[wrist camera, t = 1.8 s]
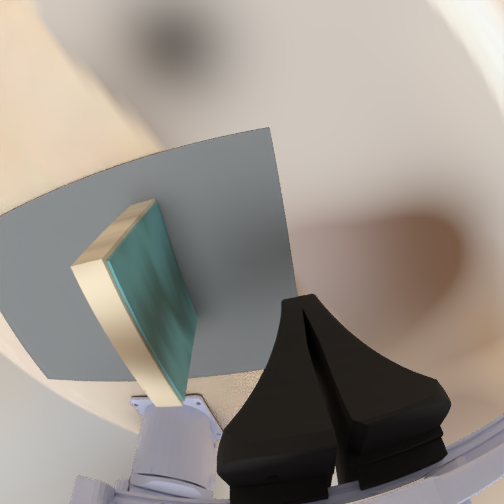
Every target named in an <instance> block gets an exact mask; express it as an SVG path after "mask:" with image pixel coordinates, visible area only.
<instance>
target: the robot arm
mask: <svg viewBox="0 0 504 504" xmlns="http://www.w3.org/2000/svg"><path fill="white" fill-rule="evenodd" d="M130 403H131V404H132V405H133V406H134V407H135V408H136V410H137V411H138V412H139V413H140V414H141V415H142V417H143V419H142V424H141V428H140V433H139V437H138V442H137V447H136V452H135V457H134V462H133V467H132V473H131V476H130V478H129V480H128V479H126V478H121V480H117V481H116V483H115V487H114V488H113V487H112V486H110V485H109V484H107V483H105V482H102V481H99V480H96V479H91V478H87V477H84V476H80V475H79V476H77V477H76V481H75V485H74V489H73V493H72V497H71V501H70V504H346V503H350V502H354V501H358V500H361V499H365V498H368V497H371V496H375V495H378V494H381V493H384V492H387V491H390V490H393V489H395V488H398V487H401V486H403V485H406V484H409V483H411V482H414V481H416V480H418V479H421V478H423V477H425V476H426V477H425V478H424V480H422V481H419V482H417V483H414V484H412V485H409V486H407V487H404V488H401V489H399V490H396V491H393V492H390V493H388V494H385V495H381V496H379V497H375V498H372V499H369V500H366V501H362V502H358V503H355V504H471V501H470V498H471V497H473V496H474V495H476V494H478V493H479V492H481V491H482V490H484V489H486V488H487V487H489V486H490V485H491V484H493V483H495V482H496V481H497V480H499V479H500V478H501V477H503V476H504V414H502V415H501V416H499V417H498V418H496V419H495V420H493V421H491V422H490V423H488V424H487V425H485V426H483V427H482V428H480V429H478V430H477V431H475V432H473V433H471V434H470V435H468V436H466V437H464V438H462V439H461V440H459V441H457V442H455V443H453V444H451V445H449V446H447V447H445V445H444V443H443V441H442V438H441V437H442V436H443V431H442V429H441V427H440V425H441V423H442V422H443V420H444V418H445V417H446V416H447V414H448V412H449V410H450V407H451V401H450V399H449V397H448V395H447V394H446V392H445V390H444V389H443V388H442V386H441V385H440V384H439V382H438V381H437V380H436V379H433V378H430V377H427V376H424V375H422V374H419V373H416V372H413V371H411V370H409V369H407V368H404V367H402V366H400V365H398V364H396V363H394V362H393V361H390V360H389V359H387V358H385V357H383V356H382V355H380V354H379V353H377V352H376V351H374V350H373V349H371V348H370V347H368V346H367V345H366V344H364V343H363V342H362V341H360V340H359V339H358V338H357V337H355V336H354V335H353V334H352V333H351V332H349V331H348V330H347V329H346V328H345V327H344V326H343V325H342V324H341V323H340V322H339V321H338V320H337V319H336V318H335V317H334V316H333V315H332V314H331V313H330V312H329V311H328V310H327V309H326V308H325V307H324V305H323V304H322V303H321V302H320V301H319V299H318V298H317V297H316V295H314V294H308V295H303V296H298V297H293V298H288V299H283V300H282V301H281V317H280V324H279V328H278V332H277V337H276V340H275V343H274V346H273V349H272V352H271V355H270V358H269V360H268V362H267V365H266V367H265V369H264V371H263V373H262V375H261V377H260V379H259V381H258V383H257V385H256V387H255V388H254V390H253V392H252V393H251V395H250V396H249V398H248V399H247V401H246V402H245V404H244V405H243V407H242V408H241V409H240V411H239V412H238V413H237V414H236V416H235V417H234V418H233V419H232V420H231V422H230V423H229V424H228V425H227V426H226V428H225V429H224V431H222V430H221V428H220V426H219V425H218V423H217V422H216V420H215V418H214V417H213V415H212V413H211V412H210V410H209V408H208V407H207V405H206V403H205V402H204V400H203V398H202V397H201V396H199V395H191V396H185V401H184V402H183V406H174V407H156V406H155V405H154V403H153V402H152V401H151V400H150V398H149V397H132V398H130ZM217 440H220V443H219V448H218V453H217ZM216 464H217V473H218V475H219V476H220V477H221V478H222V479H223V480H224V481H225V482H226V483H227V484H228V485H229V486H230V499H216V498H213V491H212V490H211V489H212V488H213V486H214V484H215V481H216ZM335 466H336V472H337V478H338V485H337V486H332V487H331V481H332V475H333V474H334V469H335Z"/></svg>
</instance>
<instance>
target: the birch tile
mask: <svg viewBox="0 0 504 504" xmlns="http://www.w3.org/2000/svg"><path fill="white" fill-rule="evenodd" d="M70 267H71V269H72V271H73V273H74V275H75V277H76V279H77V281H78V284H79V286H80V288H81V289H82V291H83V293H84V295H85V297H86V299H87V301H88V303H89V305H90V307H91V308H92V310H93V312H94V314H95V316H96V317H97V319H98V321H99V323H100V324H101V326H102V328H103V330H104V331H105V333H106V335H107V336H108V338H109V340H110V341H111V343H112V344H113V346H114V348H115V349H116V351H117V352H118V354H119V355H120V357H121V359H122V360H123V362H124V363H125V365H126V366H127V368H128V369H129V370H130V372H131V373H132V375H133V376H134V378H135V379H136V380H137V382H138V383H139V385H140V386H141V387H142V389H143V390H144V392H145V393H146V394H147V396H148V397H149V398H150V400H151V401H152V402H153V403H154V405H155V406H156V407H174V406H183V402H184V401H185V395H186V388H187V381H188V374H189V368H190V361H191V355H192V349H193V343H194V337H195V331H196V325H197V319H198V318H197V315H196V313H195V310H194V307H193V305H192V302H191V299H190V297H189V294H188V291H187V289H186V286H185V283H184V281H183V278H182V275H181V272H180V269H179V267H178V264H177V261H176V258H175V255H174V252H173V249H172V246H171V243H170V240H169V237H168V234H167V231H166V228H165V225H164V222H163V219H162V216H161V213H160V209H159V206H158V203H157V202H156V200H155V198H154V199H150V200H147V201H143V202H139V203H136V204H132V205H130V206H129V207H128V208H127V209H126V210H125V211H124V212H123V213H122V214H121V215H120V216H119V217H118V218H117V219H116V220H115V221H114V222H113V223H112V224H111V225H110V226H109V227H107V228H106V229H105V230H104V231H103V232H102V234H101V235H100V236H99V237H98V238H97V239H96V240H95V241H94V242H93V243H92V244H91V245H90V246H89V247H88V248H87V249H86V250H85V251H84V252H83V253H82V254H81V255H80V256H79V258H78V259H77V260H76V261H75V262H74V263H73V264H72V265H71V266H70Z"/></svg>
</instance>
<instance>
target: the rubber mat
mask: <svg viewBox="0 0 504 504" xmlns="http://www.w3.org/2000/svg"><path fill="white" fill-rule="evenodd" d="M154 198H155V200H156V202H157V203H158V206H159V209H160V213H161V216H162V219H163V222H164V225H165V228H166V231H167V234H168V237H169V240H170V243H171V246H172V249H173V252H174V255H175V258H176V261H177V264H178V267H179V269H180V272H181V275H182V278H183V281H184V283H185V286H186V289H187V291H188V294H189V297H190V299H191V302H192V305H193V307H194V310H195V313H196V315H197V318H198V319H197V325H196V331H195V337H194V343H193V349H192V355H191V361H190V368H189V374H188V378H197V377H208V376H217V375H226V374H234V373H241V372H248V371H255V370H262V369H265V367H266V365H267V362H268V360H269V358H270V355H271V352H272V349H273V346H274V343H275V340H276V337H277V332H278V328H279V324H280V317H281V301H282V300H283V299H288V298H293V297H297V292H296V284H295V277H294V270H293V263H292V257H291V250H290V243H289V237H288V230H287V224H286V218H285V212H284V206H283V200H282V194H281V188H280V183H279V176H278V171H277V166H276V160H275V154H274V149H273V143H272V138H271V133H270V128H269V127H268V128H262V129H257V130H251V131H246V132H241V133H236V134H232V135H227V136H222V137H218V138H213V139H209V140H205V141H201V142H197V143H193V144H189V145H185V146H181V147H178V148H174V149H170V150H166V151H163V152H159V153H156V154H153V155H149V156H146V157H143V158H140V159H137V160H133V161H130V162H127V163H124V164H121V165H118V166H115V167H113V168H110V169H107V170H104V171H101V172H99V173H96V174H93V175H91V176H88V177H85V178H83V179H80V180H78V181H75V182H73V183H70V184H68V185H65V186H63V187H61V188H58V189H56V190H54V191H51V192H49V193H47V194H45V195H42V196H40V197H38V198H36V199H34V200H32V201H29V202H27V203H25V204H23V205H21V206H19V207H17V208H15V209H13V210H11V211H9V212H7V213H5V214H3V215H1V216H0V311H1V313H2V315H3V316H4V318H5V320H6V321H7V323H8V324H9V326H10V327H11V329H12V331H13V332H14V334H15V335H16V337H17V338H18V340H19V341H20V343H21V344H22V345H23V347H24V348H25V350H26V351H27V352H28V354H29V355H30V356H31V358H32V359H33V361H34V362H35V363H36V364H37V366H38V367H39V368H40V370H41V371H42V372H43V373H44V375H45V376H46V377H47V378H48V379H57V380H75V381H137V380H136V379H135V378H134V376H133V375H132V373H131V372H130V370H129V369H128V368H127V366H126V365H125V363H124V362H123V360H122V359H121V357H120V355H119V354H118V352H117V351H116V349H115V348H114V346H113V344H112V343H111V341H110V340H109V338H108V336H107V335H106V333H105V331H104V330H103V328H102V326H101V324H100V323H99V321H98V319H97V317H96V316H95V314H94V312H93V310H92V308H91V307H90V305H89V303H88V301H87V299H86V297H85V295H84V293H83V291H82V289H81V288H80V286H79V284H78V281H77V279H76V277H75V275H74V273H73V271H72V269H71V267H70V266H71V265H72V264H73V263H74V262H75V261H76V260H77V259H78V258H79V256H80V255H81V254H82V253H83V252H84V251H85V250H86V249H87V248H88V247H89V246H90V245H91V244H92V243H93V242H94V241H95V240H96V239H97V238H98V237H99V236H100V235H101V234H102V232H103V231H104V230H105V229H106V228H107V227H109V226H110V225H111V224H112V223H113V222H114V221H115V220H116V219H117V218H118V217H119V216H120V215H121V214H122V213H123V212H124V211H125V210H126V209H127V208H128V207H129V206H130V205H132V204H136V203H139V202H143V201H147V200H150V199H154Z"/></svg>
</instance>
